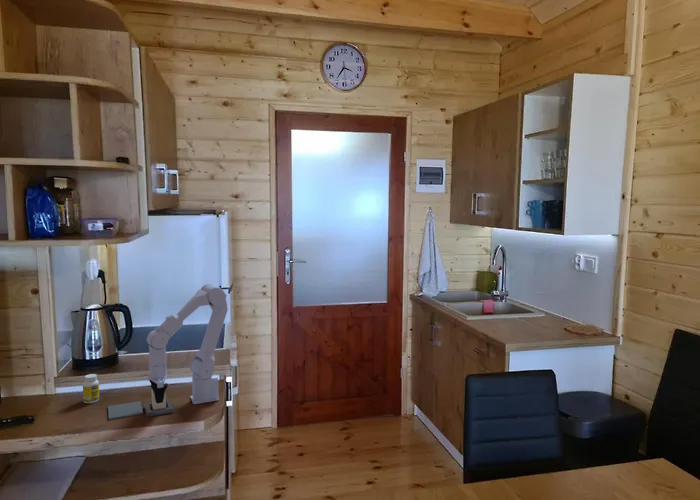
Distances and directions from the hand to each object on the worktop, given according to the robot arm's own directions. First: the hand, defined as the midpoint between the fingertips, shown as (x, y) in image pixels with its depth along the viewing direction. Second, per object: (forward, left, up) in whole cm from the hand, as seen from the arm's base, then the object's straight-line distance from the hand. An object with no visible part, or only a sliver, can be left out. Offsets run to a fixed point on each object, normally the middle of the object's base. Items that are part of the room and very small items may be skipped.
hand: (158, 400), depth 180 cm
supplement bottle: (+22, -19, -4) cm, 29 cm away
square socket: (0, 0, -4) cm, 4 cm away
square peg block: (0, 0, -2) cm, 2 cm away
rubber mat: (+11, -4, -4) cm, 12 cm away
